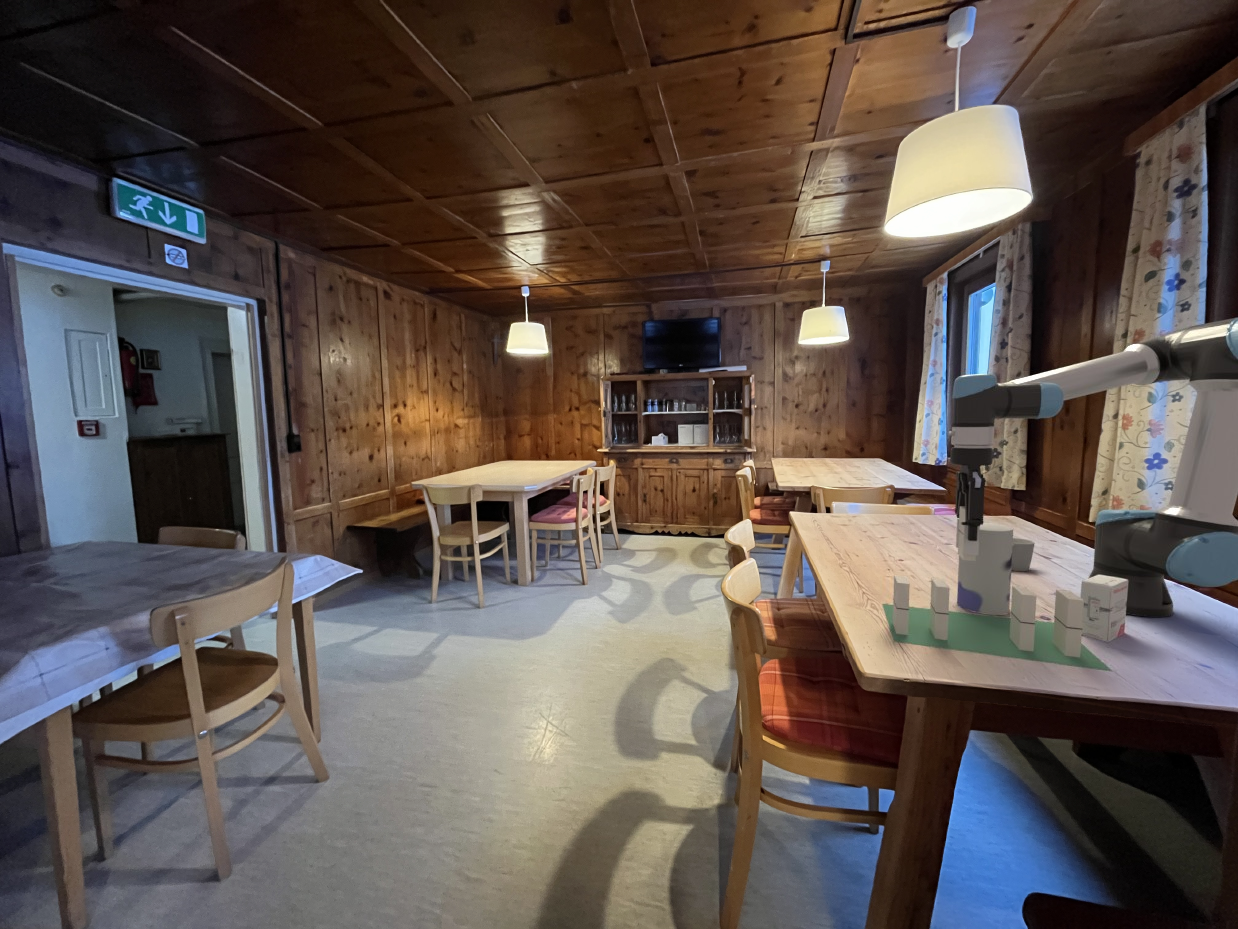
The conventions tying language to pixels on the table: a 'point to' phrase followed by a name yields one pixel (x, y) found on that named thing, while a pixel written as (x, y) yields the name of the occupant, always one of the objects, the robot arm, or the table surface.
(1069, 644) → the domino
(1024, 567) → the cup
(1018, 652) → the felt mat
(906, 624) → the domino
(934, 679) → the table surface
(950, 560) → the table surface
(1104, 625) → the ink box
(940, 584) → the domino
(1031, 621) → the domino
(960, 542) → the domino
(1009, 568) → the container
